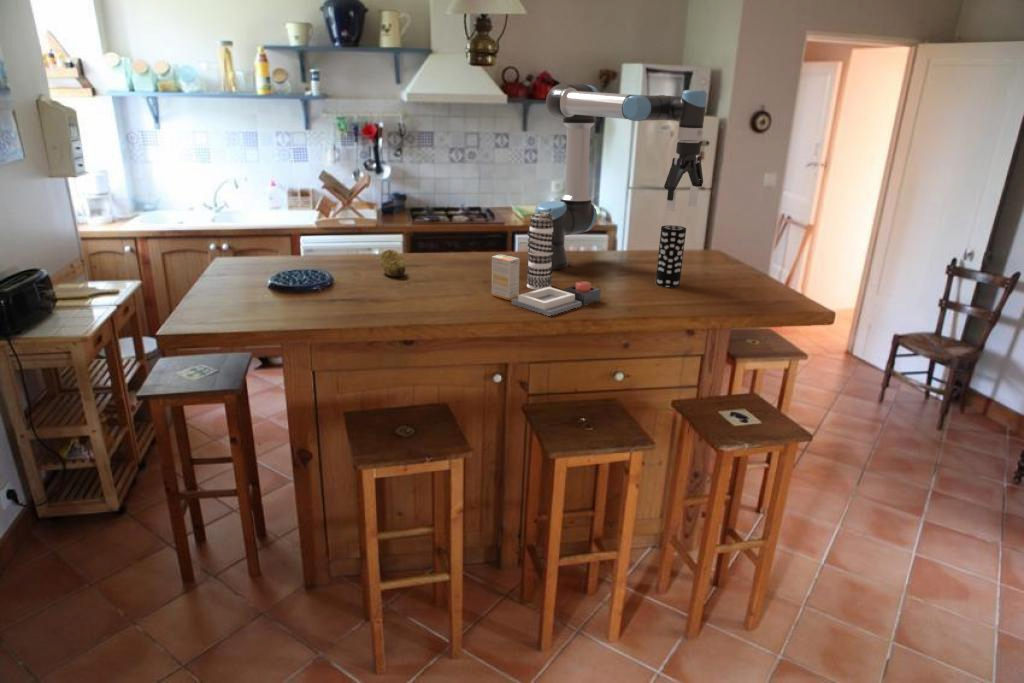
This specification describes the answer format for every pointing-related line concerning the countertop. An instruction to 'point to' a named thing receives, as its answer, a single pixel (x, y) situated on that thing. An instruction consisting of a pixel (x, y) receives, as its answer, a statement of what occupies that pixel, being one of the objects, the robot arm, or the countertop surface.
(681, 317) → the countertop surface
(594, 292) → the button housing
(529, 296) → the plate
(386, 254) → the potato
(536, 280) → the decorative candle
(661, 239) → the spotted tube
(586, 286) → the button
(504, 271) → the supplement box
